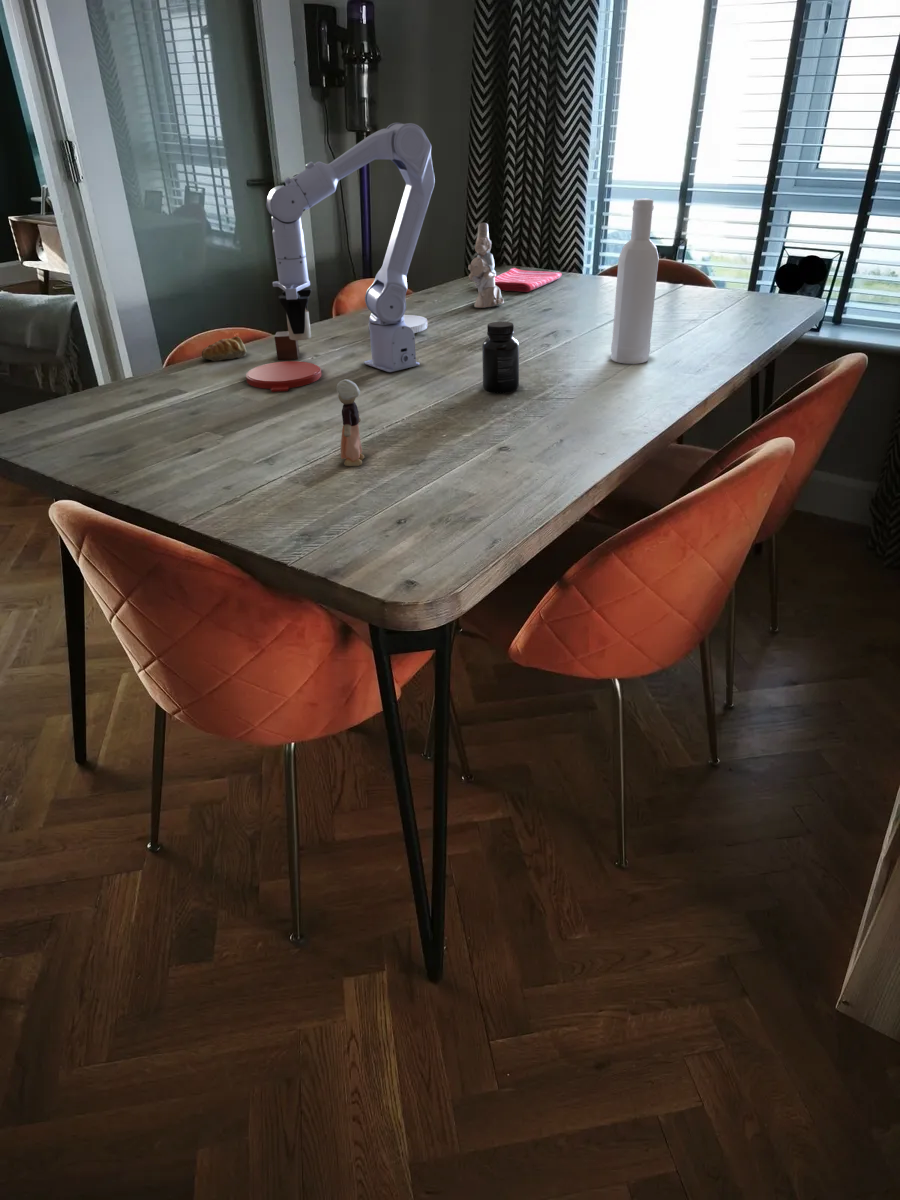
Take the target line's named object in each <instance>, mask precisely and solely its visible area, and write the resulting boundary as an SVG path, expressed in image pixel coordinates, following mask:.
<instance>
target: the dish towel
mask: <svg viewBox="0 0 900 1200" xmlns="http://www.w3.org/2000/svg"><path fill="white" fill-rule="evenodd" d="M562 275H563V274H562V272H556V271H555V272H554V271H542V270H523V269H519V268H516V267H511V268H510V269H508V270H507V271H505V272H502V273H501V274H496V276H495V285H496V286H497V287H499V288H500V291H506V292H521V293H529V292H532V291H533V290H536V289H539V288H541V287H544V286H546V285H547V284H550V283H552V282H554V281H557V280H558V279H560V278H561V277H562Z"/></svg>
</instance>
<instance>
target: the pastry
mask: <svg viewBox="0 0 900 1200" xmlns="http://www.w3.org/2000/svg"><path fill="white" fill-rule="evenodd" d="M246 355H247V347H246V346H245V344H244V342H243V340H242V339H241V337H239V336H232V337H231V338H222V339H219V340H218V341H215V342H214V343H212V344H209V345H208V346H206V347H205V348H202V350H201V358H203V359H206V360H209V361H213V362H214V361H215V362H218V361H225V360H234V359H235V358H238V359H241V358H244V357H245V356H246Z"/></svg>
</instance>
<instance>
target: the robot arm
mask: <svg viewBox="0 0 900 1200" xmlns="http://www.w3.org/2000/svg"><path fill="white" fill-rule="evenodd" d="M375 160H388V161H389V160H390V161H391V162H392V163H393V164H394V165H395V166H396V167H397V169H398V170H399V173H400V174H401V176H402V179H403V180H404V182H405V186H404V190H403V192H402V193H403V194H402V197H401V200H400V204H399V206H398V207H399V208H398V211H397V214H396V217H395V218H396V219H395V220H394V221H395V222H394V225H393V227H392V230H391V233H390V234H391V235H390V237H389V241H388V245H387V249H386V251H385V255H384V258H383V262H382V266H381V268H380V269H378V271H377V273H376V274H375V277H374V280H373V282H372V284H371V285H369V287H368V288H367V289H366V293H365V294H364V302H365V305H366V308H367V309H368V310H369V311H370V314H369V315H370V316H369V318H368V322H369V323H368V329H369V328H370V330H369V340H370V353H371V359H367V360H364V361H363V364H364V365H367V366H370V367H373V368H375V369H378V370H381V371H384V372H387V373H393V372H398V371H402V370H405V369H408V368H409V369H410V368H412V367H417V366H420V362H418V361H417V354H416V352H417V351H416V337H415V333H413V331H412V329H411V328H410V327H408V326H407V325H406V324H405V322H404V316H403V315H405V313H406V311H407V301H406V296H407V291H408V282H407V281H408V280H407V275H408V273H409V269H410V266H411V263H412V259H413V257H414V253H415V250H416V246H417V243H418V240H419V236H420V233H421V230H422V227H423V223H424V221H425V217H426V214H427V211H428V207H429V204H430V201H431V197H432V194H433V191H434V188H435V183H436V179H435V178H436V177H435V172H434V167H433V159H432V144H431V142H430V140H429V138H428V136H427V134H426V132H425V131H424V129H423V128H422V126H420V125H418V124H416V123H413V122H409V123H402V122H393V123H390V124H389V125H388V126H387V127H386V128H381V129H379V130H377V131H375V132H372V133H371V134H369V135H368V136H367V137H365V138H363V139H362V140H361V141H359V142H357V143H356V144H354V146H352V147H351V148H349V149H347V150H346V151H345V152H343V153H342V154H341V155H338V157H337V158H335V159H333V160H332V161H331V162H329V163H325V162H322V161H316V162H313V161H308V162H307V163H306V164H305V167H306V168H305V169H304V170H302V171H300V172H299V173H298V174H296V175H295V176H293V177H288V176H287V177H286V178H284V180H283V182H284V183H285V185H276V186H275V187H273V188H272V189H270V191H269V192H268V195H267V197H266V203H265V206H266V209H267V211H268V213H269V214H270V215H271V221H270V222H271V227H272V240H273V248H274V256H275V263H276V271H277V278H278V280H276V281H272V287H273V288H280V289H281V290H282V294H281V295H279V296H278V301H279V304H280V305H281V306H282V308H283V309H284V312H285V315H286V314H287V316H288V319H289V322H290V326H291V329H292V331H293V334H304V331H305V311H306V310H308V305H309V300H310V295H311V292H312V288H311V287H310V286H311V281H310V279H309V271H308V261H307V254H306V244H305V236H304V235H305V234H304V230H303V227H302V216H303V213H304V210H306V211H307V210H310V209H311V208H312V207H314V206H315V205H317V204H319V203H320V202H322V201H323V200H325V199H327V198H328V197H330V196H331V195H333V194H334V193H336V190H337V188H338V187H337V186H338V183H339V181H341V180H342V179H344V178H345V177H348V176H349V175H351V174H352V173H354V172H356V171H357V170H360V169H362V168H363V167H365V166H366V165H368V164H369V163H371V162H373V161H375Z"/></svg>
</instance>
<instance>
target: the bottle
mask: <svg viewBox="0 0 900 1200" xmlns="http://www.w3.org/2000/svg"><path fill="white" fill-rule="evenodd" d="M653 211H654V199H653V198H648V197H647V198H645V197H644V198H635V199H634V200H633V206H632V221H631V234H630V239H629V240H628V241H627V242H626V244H624V245H623V246H622V248H621V251H620V253H619V257H618V260H617V274H616V285H615V286H616V287H615V299H614V310H613V311H614V312H613V313H614V314H613V327H612V340H611V345H610V353H611V354H610V359H611V360H612V362H615V363H619V364H626V365H637V364H642V363H646V362H647V361H649V358H650V353H651V339H652V329H653V318H654V310H655V308H654V307H655V299H656V290H657V279H658V270H659V260H660V259H659V258H660V257H659V253H658V247H657V246H656V244H655V243H654V242H653V241H652V240H651V229H652V219H653Z"/></svg>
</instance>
